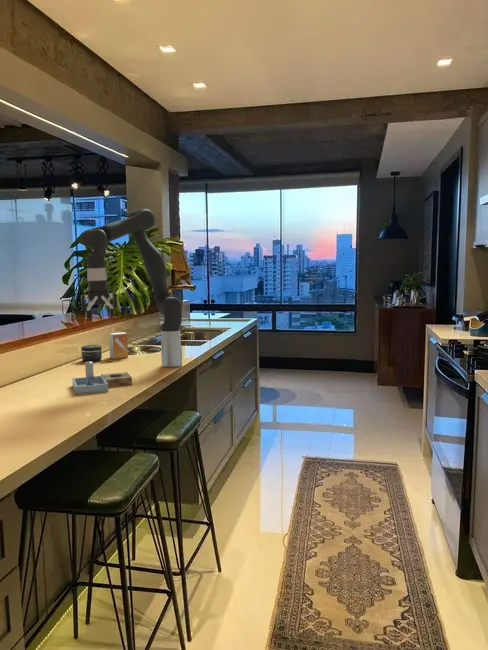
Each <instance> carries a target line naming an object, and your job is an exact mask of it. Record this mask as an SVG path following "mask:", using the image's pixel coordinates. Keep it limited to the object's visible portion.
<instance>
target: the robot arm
mask: <svg viewBox="0 0 488 650" xmlns="http://www.w3.org/2000/svg"><path fill="white" fill-rule="evenodd" d="M155 223H156V217H155V214H154V213H153V211H151V210H150V209H148V208H142V209H138V210H134V211H131V212H129V213H128V215H127V218H124V219H120V220H115V221H112V222H110V223H106V224H104V225H102V226H98V227H92V228H89V229H86V230H84V231H83V232H82V234H81V235H80V242H81V243H82V245H83V246H85V247H86V248H93V249H92V252H91V253H89V254H87V255H86V267H87V271H86V272H87V273H86V275H87V286H88V287H87V288H88V294H81V295H80V308H81V310H84V311H85V312H86V319H87V320H89V321H91V320H92V317H91V316H92V315H91V308H92V307H93V306H94V305H99V304H100V305H107V307H108V308H109V309H108V311H109V318H110V319H113V317H115V315H114V309H115V308H117V307H118V299H117V293H116V292H114V291H113V292H109V290H108V276H107V270H106V260H105V259H106V252H107V247H108V243H109V242H112V241H115V240H117V239H120V238H122V237H125V236H127V235H128V234H132V236H133V237H134V238H133V239H134V240H135V243H136V245H137V248H138V250H139V253H140V256H141V258H142V262H143V265H144V267H145V271H146V274H147V276H148V279H149V282H150V285H151V288H152V291H153V294H154V300H155V304H156V308H157V310H158V312H159V313H160V314H161V315H163V316H164V317H163V323H162V324H161V325H160V343H161V344H160V346H161V347H160V348H161V349H160V350H161V353H160V354H161V367H165V368H177V367H181V366H183V346H182V345H181V325H182V323H183V322H182V321H183V320H182V319H183V306H182V303H181V301H180V299H178V298H177V297H173V296H171V294H170V292H169V289H168V285H167V266H166V263H165V260H164V257H163V254H162V253H161V252H160V250H158V248H157V247H155V245H153V243H152V242H151V241H150V238H148V235H147V233H146V231H147V230H150V229H151V228H153V227H154V226H155ZM109 297H110V298H111V299H112V303H113V304H112V303H110V301H109V300H108V299H109ZM87 299H89V300H90V301H89V303H88V305H87V306H86V300H87Z"/></svg>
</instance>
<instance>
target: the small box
mask: <svg viewBox="0 0 488 650" xmlns="http://www.w3.org/2000/svg"><path fill="white" fill-rule="evenodd" d="M108 341H109V343H108V344H109V345H108V346H109V358H111V359H113V360H118V359H128V358H129V338H128V333H127V332H124V331H122V332H111V333H108Z"/></svg>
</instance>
